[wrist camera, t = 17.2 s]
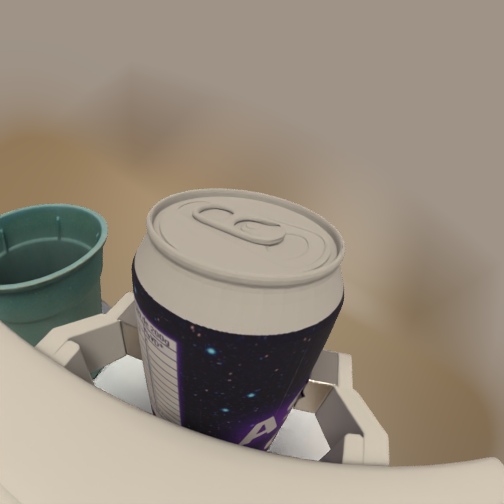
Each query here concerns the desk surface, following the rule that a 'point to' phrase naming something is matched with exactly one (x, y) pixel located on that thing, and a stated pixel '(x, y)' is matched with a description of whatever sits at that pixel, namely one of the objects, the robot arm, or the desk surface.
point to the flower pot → (50, 268)
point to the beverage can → (233, 309)
